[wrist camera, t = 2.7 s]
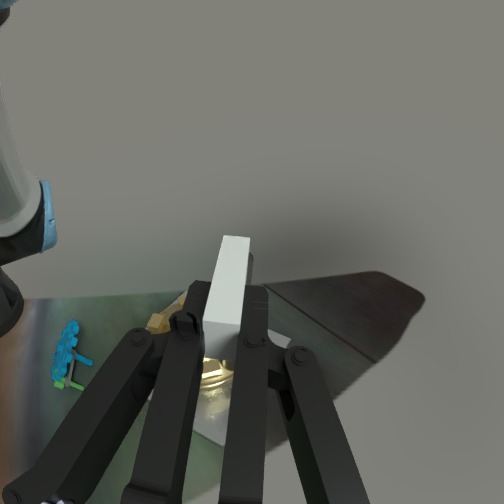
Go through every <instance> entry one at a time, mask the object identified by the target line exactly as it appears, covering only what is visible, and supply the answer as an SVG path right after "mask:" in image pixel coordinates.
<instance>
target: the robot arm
mask: <svg viewBox="0 0 504 504" xmlns="http://www.w3.org/2000/svg"><path fill="white" fill-rule="evenodd" d="M17 1H19V0H0V31H1V30H2V28H3V27H4V25H5V24H6V23H7V22H8V20H9V17H10V6H12V5H13V4H14V3H16V2H17ZM56 243H57V233H56V227H55V220H54V213H53V205H52V197H51V187H50V182H49V181H48V180H44V181H43V180H40V181H38V179H37V178H36V176H35V175H34V174H33V173H31V172H30V171H28V170H26V169H24V168H23V165H22V162H21V160H20V156H19V153H18V150H17V147H16V144H15V141H14V137H13V134H12V130H11V127H10V122H9V119H8V114H7V110H6V106H5V101H4V96H3V91H2V86H1V80H0V266H2V265H5V264H8V263H10V262H13V261H16V260H19V259H22V258H25V257H28V256H31V255H34V254H37V253H43V252H44V251H45V250H48V249H50V248H53V247H54V246H55V245H56ZM249 243H250V238H247V237H237V236H226V235H224V237H223V241H222V245H221V249H220V252H219V257H218V261H217V264H216V268H215V272H214V276H213V280H212V282H205V281H198V280H196V281H194V282H193V284H191V285H190V286H189V289H188V292H187V295H186V298H185V301H184V304H183V307H182V310H179V311H176V312H174V313H173V314H171V316H170V317H169V324H170V331H168V332H165V333H159V334H151V332H150V331H148V330H147V329H144V328H134V329H132V330H130V331H129V332H128V333H126V335H125V336H124V337H123V339H122V340H121V341H120V342H119V344H118V345H117V346H116V348H115V349H114V350H113V352H112V353H111V354H110V356H109V357H108V359H107V360H106V361H105V363H104V364H103V365H102V367H101V368H100V369H99V371H98V372H97V373H96V375H95V376H94V378H93V379H92V380H91V382H90V383H89V385H88V386H87V387H86V389H85V390H84V392H83V393H82V394H81V396H80V397H79V399H78V400H77V402H76V403H75V405H74V406H73V407H72V409H71V410H70V412H69V413H68V415H67V416H66V418H65V419H64V421H63V422H62V424H61V425H60V427H59V428H58V430H57V431H56V433H55V434H54V436H53V437H52V439H51V440H50V442H49V443H48V445H47V447H46V448H45V450H44V451H43V453H42V454H41V456H40V458H39V459H38V461H37V462H36V464H35V466H34V467H33V468H32V469H30V470H29V471H27V472H26V473H24V474H23V475H21V476H20V477H18V478H17V479H15V480H14V481H12V482H11V483H9V484H8V485H6V486H5V487H4V488H3V492H2V497H3V501H4V504H84V503H85V502H86V501H87V500H88V499H89V497H90V496H91V494H92V493H93V491H94V490H95V488H96V486H97V485H98V483H99V481H100V479H101V478H102V476H103V474H104V472H105V471H106V469H107V467H108V465H109V464H110V462H111V460H112V458H113V457H114V455H115V453H116V452H117V450H118V448H119V446H120V445H121V443H122V441H123V439H124V438H125V436H126V434H127V433H128V431H129V429H130V428H131V426H132V424H133V422H134V421H135V419H136V417H137V416H138V414H139V412H140V411H141V409H142V407H143V405H144V404H145V402H146V400H147V399H148V397H149V395H150V394H151V392H152V390H153V389H154V390H153V393H152V397H151V400H150V404H149V408H148V411H147V415H146V419H145V423H144V427H143V431H142V435H141V439H140V443H139V447H138V451H137V455H136V459H135V464H134V468H133V473H132V477H131V480H130V482H129V484H128V485H127V486H126V487H125V488H124V490H123V494H122V497H121V502H120V504H182V492H183V485H184V479H185V472H186V466H187V460H188V454H189V448H190V442H191V436H192V430H193V424H194V418H195V412H196V407H197V401H198V396H199V390H200V385H201V379H202V374H203V369H204V366H203V360H204V355H205V358H210V359H218V360H226V361H235V364H234V373H233V381H232V389H231V398H230V406H229V415H228V424H227V432H226V441H225V449H224V458H223V467H222V475H221V484H220V493H219V501H218V504H262V497H263V480H264V460H265V439H266V415H267V387H269V388H272V389H275V391H276V394H277V398H278V402H279V405H280V409H281V413H282V416H283V420H284V424H285V427H286V431H287V434H288V438H289V441H290V445H291V449H292V452H293V456H294V459H295V463H296V466H297V470H298V473H299V477H300V481H301V484H302V487H303V491H304V494H305V498H306V501H307V504H370V502H369V499H368V497H367V494H366V491H365V488H364V485H363V482H362V479H361V477H360V474H359V471H358V468H357V466H356V463H355V460H354V457H353V455H352V452H351V449H350V446H349V444H348V441H347V438H346V435H345V433H344V430H343V427H342V425H341V422H340V419H339V417H338V414H337V411H336V409H335V406H334V404H333V401H332V398H331V396H330V393H329V390H328V388H327V385H326V383H325V380H324V377H323V375H322V372H321V370H320V367H319V365H318V362H317V360H316V357H315V355H314V353H313V352H312V351H311V350H310V349H308V348H306V347H303V346H294V347H291V348H290V349H286V348H283V347H280V346H278V345H276V344H275V343H273V342H272V341H271V339H270V338H269V336H268V293H267V291H266V289H265V287H260V286H250V285H246V276H247V266H248V255H249ZM23 304H24V302H23V297H22V295H21V293H20V291H19V289H18V287H17V285H16V284H15V283H14V282H13V281H12V280H11V279H10V278H9V277H8V276H7V275H6V274H5V273H4V271H3V270H2V269H1V267H0V337H1V336H3V335H4V334H6V333H7V332H8V331H9V330H10V329H11V328H12V327H13V326H14V325H15V323H16V322H17V321H18V319H19V317H20V315H21V313H22V310H23Z"/></svg>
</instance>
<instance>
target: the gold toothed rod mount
mask: <svg viewBox="0 0 504 504" xmlns="http://www.w3.org/2000/svg"><path fill="white" fill-rule="evenodd" d="M252 266H253V255H252V254H251V253H250V252H249V255H248V266H247V276H246V285H250V286H251V277H252ZM185 298H186V296H181V297H178V302H179V303H177V304H174V305H172V306H170V307H168V308H166V309H164V310H163V311H162V312H160V313H159V314H156V313H153V315H152V317H151V318H150V320H149V322H148V324H147V328H148V331H150V332H151V334H159V333H165V332H168V331H170V324H169V317H170V316H171V314H173V313H174V312H176V311H179V310H182V307H183V304H184V301H185ZM234 364H235V361H226V360H218V359H210V358H205V355H204V360H203V366H204V369H203V374H202V379H201V385H200V390H199V392H206V391H212V390H216V389H219V388H222V387H224V386H226V385H228V384H229V383H231V382H232V381H233V373H234Z"/></svg>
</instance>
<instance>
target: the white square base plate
mask: <svg viewBox="0 0 504 504" xmlns="http://www.w3.org/2000/svg"><path fill="white" fill-rule="evenodd" d="M187 292H188V291H185V292H184V293H183V294H182V295H181V296H186V295H187ZM181 296H180V297H181ZM177 303H179V302H178V299H177V300H175V301H174V302H173V303H172V304H171V305H170V306H172V305H174V304H177ZM170 306H169V307H170ZM145 329H147V330H148V328H147V327H146V328H145ZM268 336H269V338H270V339H271V341H272V342H273V343H275V344H276V345H278V346H280V347H283V348H286V349H287V347H288V345H289V343H290V340H291V339H290V338H287V337H285V336H283V335H280V334H278V333H276V332H273V331H271V330H269V329H268ZM231 389H232V382H231V383H229V384H228V385H226V386H224V387H222V388H219V389H216V390H212V391H206V392H199V396H198V401H197V407H196V412H195V418H194V424H193V430H192V431H193V432H195V433H196V434H198V435H200V436H201V437H203V438H205V439H206V440H208V441H210V442H212V443H213V444H215V445H217V446H219V447H221V448H224V446H225V441H226V432H227V424H228V415H229V406H230V398H231ZM153 390H154V389H153ZM153 390H152V392H151V394H150V395H149V397H148V399H147V401H148V402H149V403H150V400H151V397H152V393H153Z"/></svg>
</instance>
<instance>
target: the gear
mask: <svg viewBox="0 0 504 504" xmlns="http://www.w3.org/2000/svg"><path fill="white" fill-rule="evenodd" d="M78 331H79V326H78V322H77V321H76V320H74V319H72V321H71V322H70V321H69V322H68V324H67V327H66V329H65V328H64V330H63V331H62V337H61V341H60V340H59V341H58V343H57V346H56V347H57V354H56V353H54V356H53V361H55V364H54V365H52V367H51V372H52V376H51V378H52V380H54V386H55V387H57V388H59V389H62V390H63V388H64V387H67V388H68V387H69V386H72V387H74V388H76V389H79V390H81V391H83V390H84V386H81V385H79V384H77V383H74V382H72V381H71V376H72V370H73V365H74V361H75V360H77V361H79V362H82V363H84V364H86V365H88V366H90V367H91V366H92V365H93V361H92V360H90V359H88V358H86V357H84V356H81V355H79V354H77V353H76V350H74V349H72V346H73V347H75V346H76V344H77V340H78V339H77V338H75V337H74V336H75V334H76V335H77V334H78ZM67 362H69V363H68V368H67ZM66 372H67V373H66ZM65 374H66V376H65V377H64V375H65Z"/></svg>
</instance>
